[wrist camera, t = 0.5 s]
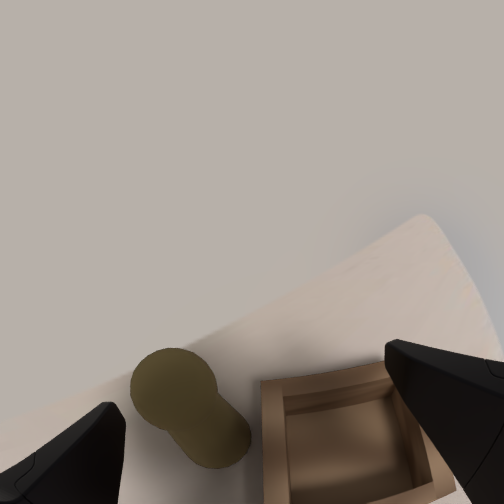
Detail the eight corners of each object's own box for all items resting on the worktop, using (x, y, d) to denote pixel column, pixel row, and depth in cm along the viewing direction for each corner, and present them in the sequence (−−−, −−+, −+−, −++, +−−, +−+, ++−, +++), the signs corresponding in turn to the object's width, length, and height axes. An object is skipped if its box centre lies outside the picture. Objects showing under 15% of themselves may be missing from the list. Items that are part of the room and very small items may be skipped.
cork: (247, 403, 22) (214, 325, 16) (254, 465, 17) (216, 421, 11) (182, 409, 22) (124, 337, 16) (181, 469, 17) (106, 422, 11)
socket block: (431, 498, 11) (456, 490, 8) (272, 533, 12) (264, 537, 10) (400, 380, 21) (413, 352, 18) (268, 404, 22) (260, 381, 19)
